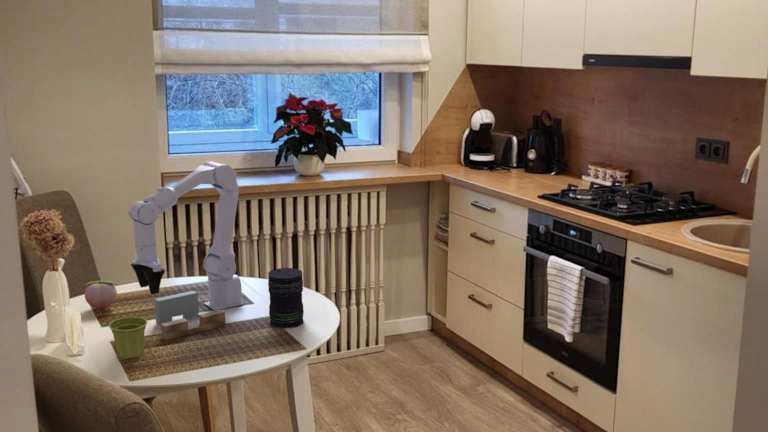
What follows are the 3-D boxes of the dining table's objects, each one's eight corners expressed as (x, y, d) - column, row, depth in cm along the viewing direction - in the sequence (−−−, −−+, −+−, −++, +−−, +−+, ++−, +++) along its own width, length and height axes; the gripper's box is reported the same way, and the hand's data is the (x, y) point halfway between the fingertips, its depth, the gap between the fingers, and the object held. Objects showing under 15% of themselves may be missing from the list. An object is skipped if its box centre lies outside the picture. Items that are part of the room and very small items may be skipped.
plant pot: (157, 350, 202) (154, 319, 200) (134, 364, 194) (132, 331, 192) (127, 345, 205) (124, 314, 203) (103, 359, 197) (101, 327, 195)
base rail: (221, 322, 222) (220, 309, 221) (225, 325, 220) (224, 312, 219) (161, 337, 211) (160, 323, 210) (165, 340, 209) (164, 326, 208)
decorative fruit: (118, 303, 238) (116, 272, 236) (118, 311, 230) (115, 280, 228) (86, 306, 235) (83, 275, 233) (85, 315, 228) (82, 283, 225)
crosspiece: (195, 314, 228) (193, 290, 227) (198, 317, 226) (197, 292, 225) (156, 323, 221) (154, 298, 219) (159, 326, 219) (158, 301, 217)
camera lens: (310, 322, 223) (309, 272, 219) (284, 331, 216) (283, 280, 212) (288, 314, 229) (287, 265, 226) (262, 322, 222) (260, 273, 219)
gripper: (122, 241, 219) (126, 286, 222) (141, 251, 208) (145, 299, 211) (146, 237, 223) (150, 281, 226) (166, 247, 212) (170, 294, 215)
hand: (149, 290), depth 219 cm, fingers open, 7 cm apart
